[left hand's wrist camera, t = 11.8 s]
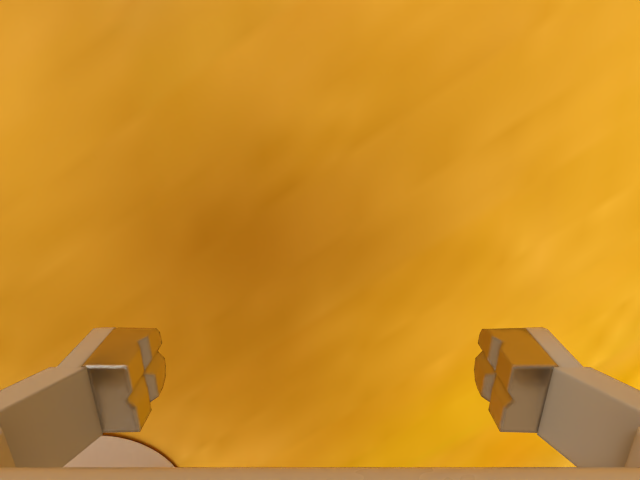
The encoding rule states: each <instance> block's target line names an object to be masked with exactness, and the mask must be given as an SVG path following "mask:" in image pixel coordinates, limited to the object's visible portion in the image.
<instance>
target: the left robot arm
mask: <svg viewBox="0 0 640 480" xmlns="http://www.w3.org/2000/svg"><path fill="white" fill-rule="evenodd" d="M161 344H162V340H161V335H160V332H159V331H158V330H157V329H156V328H115V327H105V328H95V329H93V330H92V331H91V332H90V333H89V334H88V335H87V336H86V337H85V338H84V339H83V340H82V341H81V342H80V343H79V344H78V345H77V346H76V347H75V348H74V349H73V351H72V352H71V353H70V354H69V355H68V356H67V357H66V358H65V359H64V360H63V361H62V362H61V363H60V364H59V365H58V366H57V367H49V368H47V369H45V370H43V371H41V372H39V373H37V374H34V375H32V376H30V377H28V378H26V379H24V380H22V381H20V382H17V383H15V384H13V385H11V386H9V387H7V388H5V389H3V390H0V480H640V391H639V390H637V389H635V388H633V387H631V386H629V385H627V384H625V383H623V382H620V381H618V380H616V379H614V378H612V377H610V376H608V375H606V374H603V373H601V372H599V371H597V370H595V369H593V368H591V367H583V366H582V365H581V364H580V363H579V362H578V361H577V360H576V359H575V358H574V357H573V356H572V355H571V354H570V353H569V352H568V350H567V349H566V348H565V347H564V346H563V345H562V344H561V343H560V342H559V341H558V340H557V339H556V338H555V337H554V336H553V335H552V334H551V333H550V332H549V330H548V329H545V328H543V327H534V328H506V329H482V330H481V332H480V334H479V340H478V344H479V346H480V347H481V349H482V352H481V353H480V354H479V355H478V356H477V357H476V358H475V366H474V374H475V382H476V385H477V389H478V391H479V393H480V395H481V396H482V397H483V398H485V399H486V400H488V401H489V402H490V404H489V412H490V414H491V416H492V417H493V419H494V421H495V423H496V425H497V427H498V429H499V431H500V432H529V433H537V435H538V436H540V437H541V438H542V439H543V440H545V441H546V442H547V443H548V444H550V445H551V446H552V447H553V448H554V449H556V450H557V451H558V452H559V453H561V454H562V455H563V456H564V457H566V458H567V459H568V460H569V461H570V462H572V463H573V464H574V465H575V466H577V467H175V466H174V465H173V464H172V463H171V462H170V461H169V460H167V459H166V458H165V457H164V456H162V455H161V454H159V453H158V452H156V451H155V450H153V449H151V448H149V447H147V446H145V445H143V444H140V443H138V442H135V441H132V440H128V439H124V438H120V437H114V436H103V433H111V432H140V431H141V429H142V427H143V425H144V423H145V421H146V419H147V418H148V416H149V414H150V412H151V404H150V402H151V401H152V400H154V399H155V398H157V397H158V396H159V395H160V393H161V391H162V388H163V385H164V381H165V376H166V365H165V358H164V357H163V356H162V355H161V354H160V353H159V352H158V349H159V347H160V346H161Z"/></svg>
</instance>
